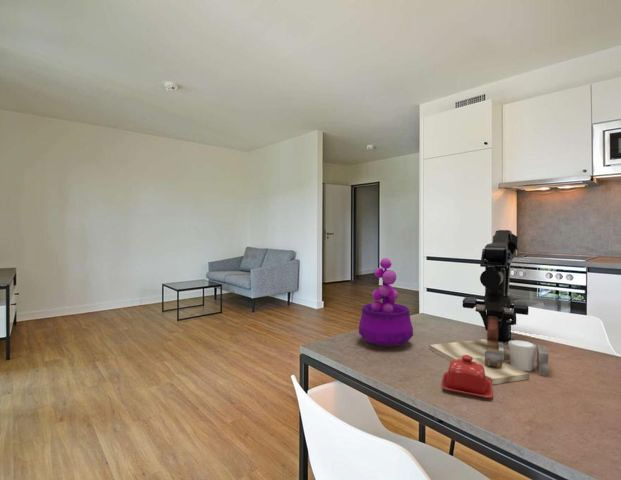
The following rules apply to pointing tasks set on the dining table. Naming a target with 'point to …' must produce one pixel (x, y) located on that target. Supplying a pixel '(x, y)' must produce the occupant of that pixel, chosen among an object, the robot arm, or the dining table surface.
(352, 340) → the dining table surface
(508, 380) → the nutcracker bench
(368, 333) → the decorative plant
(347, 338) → the dining table surface
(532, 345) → the white mug
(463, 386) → the butter dish
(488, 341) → the lever
